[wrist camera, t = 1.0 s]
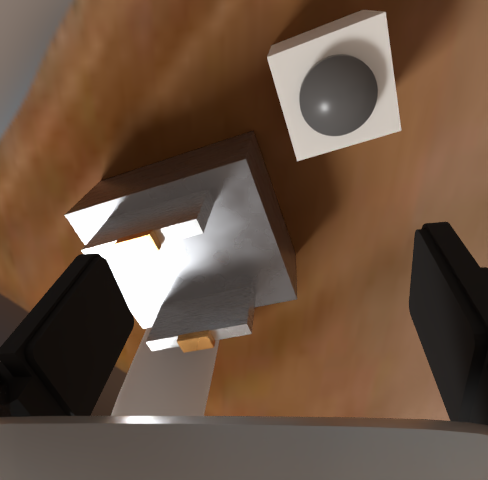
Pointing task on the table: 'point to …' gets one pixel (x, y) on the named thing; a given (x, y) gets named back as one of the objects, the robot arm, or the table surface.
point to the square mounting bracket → (193, 242)
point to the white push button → (337, 84)
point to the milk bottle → (166, 382)
